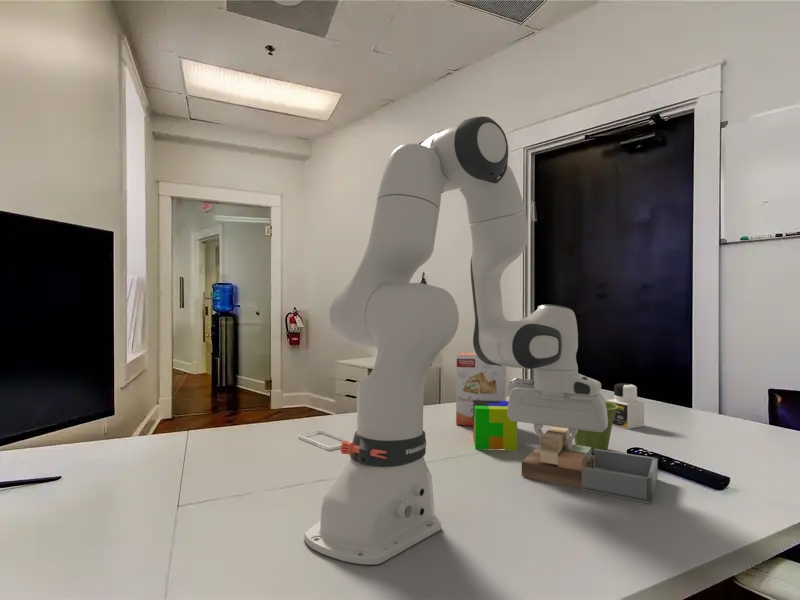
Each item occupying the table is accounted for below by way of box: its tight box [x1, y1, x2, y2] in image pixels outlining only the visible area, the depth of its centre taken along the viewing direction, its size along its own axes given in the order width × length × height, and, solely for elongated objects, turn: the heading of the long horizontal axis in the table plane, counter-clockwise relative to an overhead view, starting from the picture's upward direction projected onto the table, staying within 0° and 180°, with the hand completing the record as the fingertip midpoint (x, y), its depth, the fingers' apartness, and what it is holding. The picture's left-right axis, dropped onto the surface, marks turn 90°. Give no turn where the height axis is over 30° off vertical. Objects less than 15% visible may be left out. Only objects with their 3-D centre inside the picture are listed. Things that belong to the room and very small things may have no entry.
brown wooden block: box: [521, 446, 594, 489], centre depth 102 cm, size 12×12×3 cm
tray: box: [581, 449, 659, 505], centre depth 96 cm, size 14×12×4 cm
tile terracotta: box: [558, 451, 586, 471], centre depth 98 cm, size 4×4×2 cm
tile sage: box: [565, 444, 592, 463], centre depth 103 cm, size 4×4×2 cm
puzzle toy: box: [472, 400, 518, 451], centre depth 123 cm, size 10×10×10 cm
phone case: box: [297, 429, 353, 452], centre depth 125 cm, size 7×1×15 cm
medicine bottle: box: [607, 382, 645, 430], centre depth 142 cm, size 7×7×12 cm
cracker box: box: [455, 351, 507, 427], centre depth 142 cm, size 14×6×21 cm, turn 73°
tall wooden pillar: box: [539, 426, 571, 465], centre depth 102 cm, size 11×4×5 cm, turn 149°
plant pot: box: [573, 400, 619, 454], centre depth 118 cm, size 12×12×11 cm
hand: (555, 447), depth 102 cm, fingers closed on tall wooden pillar, 3 cm apart
